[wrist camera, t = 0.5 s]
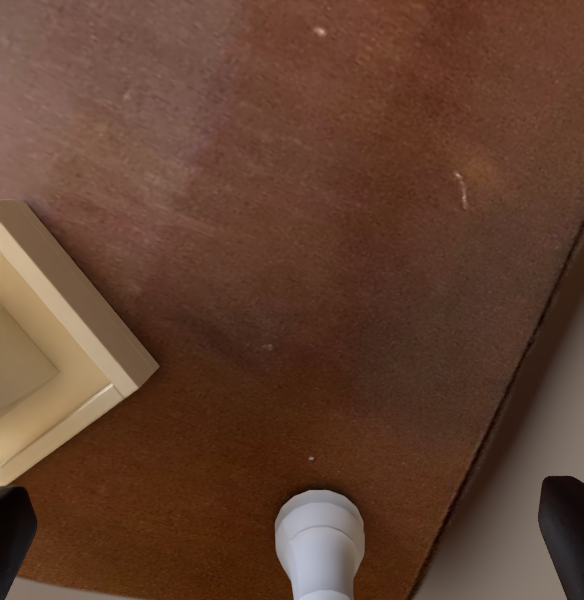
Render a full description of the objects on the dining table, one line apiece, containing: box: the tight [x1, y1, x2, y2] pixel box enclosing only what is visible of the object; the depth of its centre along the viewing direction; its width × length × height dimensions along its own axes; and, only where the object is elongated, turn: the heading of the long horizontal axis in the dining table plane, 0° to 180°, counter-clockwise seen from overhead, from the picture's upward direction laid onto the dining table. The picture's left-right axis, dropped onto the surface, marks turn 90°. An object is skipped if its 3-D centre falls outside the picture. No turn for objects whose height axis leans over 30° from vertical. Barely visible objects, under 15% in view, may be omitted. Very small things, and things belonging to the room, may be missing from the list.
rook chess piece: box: [275, 490, 365, 600], centre depth 18 cm, size 4×4×8 cm
